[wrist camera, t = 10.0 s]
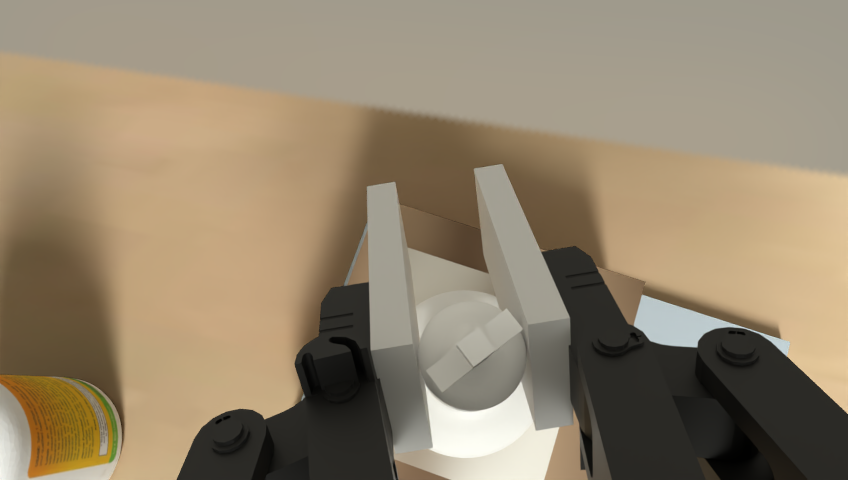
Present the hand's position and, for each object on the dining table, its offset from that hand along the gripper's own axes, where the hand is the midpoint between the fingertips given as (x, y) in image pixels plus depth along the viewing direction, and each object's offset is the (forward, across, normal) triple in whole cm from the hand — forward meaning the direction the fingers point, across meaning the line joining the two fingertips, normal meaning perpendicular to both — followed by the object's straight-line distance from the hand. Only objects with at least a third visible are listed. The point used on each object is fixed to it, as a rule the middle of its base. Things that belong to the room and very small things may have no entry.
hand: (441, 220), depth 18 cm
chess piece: (0, 0, -5) cm, 5 cm away
